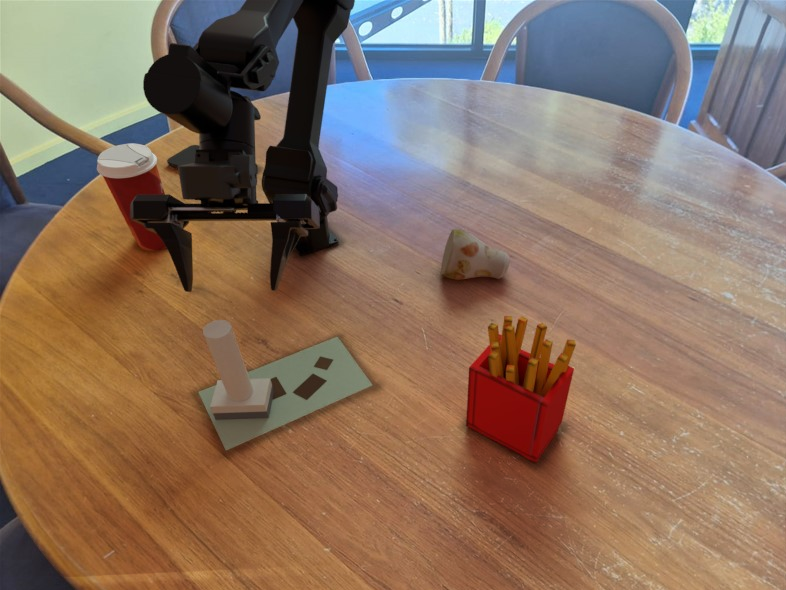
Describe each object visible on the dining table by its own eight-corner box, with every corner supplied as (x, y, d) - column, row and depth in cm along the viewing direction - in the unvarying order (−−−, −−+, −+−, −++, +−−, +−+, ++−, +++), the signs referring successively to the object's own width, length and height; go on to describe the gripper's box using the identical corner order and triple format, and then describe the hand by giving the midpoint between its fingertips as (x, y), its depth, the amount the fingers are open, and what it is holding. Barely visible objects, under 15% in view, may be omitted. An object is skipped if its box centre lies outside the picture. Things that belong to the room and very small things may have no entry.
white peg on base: (215, 420, 71) (181, 343, 62) (222, 393, 73) (191, 316, 64) (268, 418, 71) (243, 341, 62) (274, 391, 74) (250, 314, 65)
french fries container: (495, 390, 76) (504, 304, 66) (562, 424, 72) (582, 338, 62) (464, 429, 71) (468, 343, 61) (534, 466, 68) (550, 381, 58)
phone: (231, 183, 105) (163, 161, 109) (232, 187, 106) (165, 165, 110) (259, 164, 110) (193, 143, 114) (260, 168, 110) (195, 147, 114)
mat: (198, 394, 74) (197, 391, 73) (337, 338, 81) (337, 335, 81) (226, 452, 68) (225, 450, 68) (373, 387, 75) (372, 384, 75)
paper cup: (195, 233, 96) (166, 149, 86) (158, 260, 91) (123, 174, 81) (156, 220, 98) (123, 136, 88) (118, 245, 93) (79, 160, 83)
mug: (514, 291, 89) (485, 249, 82) (455, 304, 93) (422, 265, 86) (517, 251, 93) (489, 207, 85) (459, 265, 97) (428, 224, 90)
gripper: (100, 121, 59) (104, 284, 59) (299, 122, 60) (302, 282, 61) (152, 157, 70) (155, 294, 70) (318, 157, 72) (321, 292, 72)
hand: (231, 291), depth 68 cm, fingers open, 9 cm apart
